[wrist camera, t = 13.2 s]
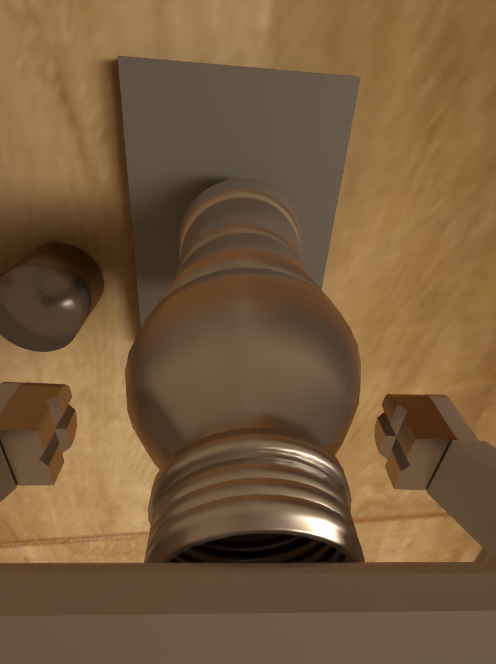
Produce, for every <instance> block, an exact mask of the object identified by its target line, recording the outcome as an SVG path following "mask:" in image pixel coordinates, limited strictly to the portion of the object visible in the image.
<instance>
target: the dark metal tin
mask: <svg viewBox="0 0 496 664" xmlns="http://www.w3.org/2000/svg"><path fill="white" fill-rule="evenodd" d="M103 290H104V280H103V276H102V273H101V271H100V269H99V267H98V265H97V264H96V262H95V261H94V260H93V259H92V258H91V257H90V256H89V255H88V254H87V253H85V252H84V251H82V250H81V249H79V248H77V247H75V246H72V245H69V244H65V243H48V244H45V245H42V246H40V247H38V248H37V249H35V250H34V251H33V252H31V253H30V254H29V255H27V256H26V257H25V258H23V259H22V260H21V261H19V262H18V263H17V264H16V265H14V266H13V267H12V268H10V269H9V270H8V271H6V272H5V273H4V274H2V275H1V276H0V334H1V335H2V336H3V337H4V338H5V339H7V340H8V341H10V342H11V343H13V344H15V345H17V346H19V347H22V348H24V349H28V350H32V351H39V352H48V351H54V350H58V349H61V348H63V347H65V346H66V345H68V344H69V343H70V342H71V341H72V340H73V339H74V337H75V336H76V334H77V333H78V331H79V330H80V328H81V327H82V325H83V324H84V322H85V321H86V319H87V318H88V316H89V315H90V313H91V312H92V310H93V309H94V307H95V306H96V304H97V303H98V301H99V300H100V298H101V296H102V294H103Z"/></svg>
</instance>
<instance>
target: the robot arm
mask: <svg viewBox="0 0 496 664" xmlns="http://www.w3.org/2000/svg"><path fill="white" fill-rule="evenodd" d="M71 398H72V394H71V390H70V387H69V386H68V385H66V384H47V383H28V382H25V383H20V382H3V383H1V384H0V502H1V501H2V500H3V499H4V498H5V497H6V496H8V495H9V494H10V493H11V492H12V491H13V490H14V489H16V485H54V484H55V482H56V479H57V477H58V475H59V473H60V470H61V468H62V466H63V464H64V458H63V454H62V453H63V452H65V451H66V450H68V449H69V448H70V447H71V446H72V443H73V441H74V438H75V434H76V429H77V416H76V411H75V409H74V408H72V407H71V406H70V405H69V402H70V400H71ZM382 407H383V409H384V411H385V412H384V413H383V414H381V415H380V416H379V417H377V421H376V424H375V442H376V446H377V448H378V451H379V453H380V454H381V455H383V456H384V457H385V458H386V459H387V462H386V465H385V468H386V471H387V473H388V476H389V478H390V481H391V483H392V486H393V488H394V489H408V490H427V493H428V494H429V495H430V496H431V497H432V498H433V499H434V500H435V501H436V502H437V503H438V504H439V505H440V506H441V507H442V508H443V509H444V510H445V511H446V512H447V513H448V514H449V515H450V516H451V517H452V518H453V519H454V520H455V521H456V522H457V523H458V524H460V525H461V526H462V527H463V528H464V529H465V530H466V531H467V532H468V533H469V534H470V535H471V536H472V537H473V538H474V539H475V540H476V541H477V542H478V543H479V544H480V545H481V546H482V547H483V548H484V549H485V550H486V551H487V552H488V553H489V554H490V555H489V556H488V558H487V559H486V560H485V562H288V563H0V664H496V448H495V447H493V446H492V445H490V444H489V443H487V442H485V441H479V440H478V439H477V437H476V436H475V435H474V433H473V432H472V430H471V429H470V427H469V426H468V425H467V423H466V422H465V420H464V419H463V417H462V416H461V415H460V413H459V412H458V410H457V409H456V408H455V406H454V405H453V403H452V402H451V400H450V399H449V398H448V397H447V396H445V395H437V394H425V395H414V394H387V395H386V397H385V398H384V400H383V403H382Z"/></svg>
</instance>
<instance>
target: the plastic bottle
mask: <svg viewBox="0 0 496 664" xmlns="http://www.w3.org/2000/svg"><path fill="white" fill-rule="evenodd" d="M300 252H301V228H300V223H299V218H298V216H297V213H296V211H295V209H294V207H293V205H292V204H291V203H290V201H289V200H288V199H287V197H286V196H285V195H283V194H282V193H281V192H280V191H279V190H278V189H276V188H274V187H273V186H271V185H269V184H267V183H265V182H262V181H258V180H255V179H251V178H234V179H228V180H225V181H222V182H219V183H216V184H214V185H213V186H211V187H209V188H208V189H206V190H204V191H203V192H202V193H201V194H200V195H198V196H197V197H196V198H195V199H194V200H193V202H192V203H191V204H190V206H189V207H188V208H187V210H186V212H185V214H184V216H183V219H182V221H181V225H180V229H179V257H180V266H179V270H178V272H177V275H176V277H175V279H174V281H173V283H172V285H171V286H170V287H169V289H168V290H167V292H166V293H165V294H164V296H163V297H162V298H161V300H160V301H159V302H158V304H157V305H156V306H155V308H154V309H153V310H152V312H151V313H150V314H149V316H148V317H147V318H146V320H145V322H144V324H143V326H142V328H141V330H140V331H139V333H138V335H137V337H136V339H135V341H134V343H133V345H132V347H131V349H130V351H129V355H128V359H127V364H126V369H125V380H126V397H127V411H128V414H129V418H130V421H131V424H132V427H133V429H134V431H135V432H136V434H137V436H138V437H139V439H140V441H141V443H142V444H143V446H144V448H145V449H146V451H147V453H148V454H149V456H150V458H151V459H152V461H153V462H154V464H155V465H156V466H157V467H158V469H159V472H158V473H157V475H156V477H155V480H154V483H153V486H152V491H151V496H150V501H149V507H148V513H149V522H150V525H151V527H150V532H149V538H148V543H147V549H146V555H145V560H144V563H288V562H365V561H364V556H363V552H362V549H361V545H360V542H359V539H358V536H357V532H356V529H355V526H354V523H353V519H352V516H351V513H350V509H351V500H352V499H351V495H350V491H349V486H348V483H347V480H346V477H345V474H344V470H343V468H342V466H341V465H340V463H339V461H338V460H337V458H336V457H335V455H336V453H337V452H338V450H339V448H340V447H341V445H342V444H343V441H344V439H345V437H346V435H347V432H348V430H349V428H350V425H351V423H352V421H353V418H354V415H355V412H356V410H357V407H358V404H359V395H360V381H361V361H360V355H359V349H358V345H357V342H356V340H355V338H354V336H353V333H352V331H351V329H350V327H349V326H348V324H347V323H346V321H345V320H344V318H343V316H342V315H341V313H340V312H339V310H338V309H337V308H336V307H335V305H334V304H333V303H332V301H331V300H330V299H329V298H328V297H327V296H326V295H325V293H324V292H323V291H322V290H321V289H320V288H319V286H318V285H317V284H316V283H315V282H314V281H313V279H312V278H311V277H310V276H309V274H308V272H307V270H306V268H305V266H304V265H303V263H302V261H301V255H300Z"/></svg>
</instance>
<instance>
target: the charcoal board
mask: <svg viewBox="0 0 496 664" xmlns="http://www.w3.org/2000/svg"><path fill="white" fill-rule="evenodd" d="M117 57H118V69H119V80H120V92H121V104H122V115H123V127H124V139H125V151H126V162H127V174H128V186H129V197H130V209H131V221H132V232H133V244H134V256H135V267H136V279H137V291H138V302H139V314H140V326H141V328H142V326H143V324H144V322H145V320H146V318H147V317H148V316H149V314H150V313H151V312H152V310H153V309H154V308H155V306H156V305H157V304H158V302H159V301H160V300H161V298H162V297H163V296H164V294H165V293H166V292H167V290H168V289H169V287H170V286H171V285H172V283H173V281H174V279H175V277H176V275H177V272H178V270H179V266H180V257H179V229H180V225H181V221H182V219H183V216H184V214H185V212H186V210H187V208H188V207H189V206H190V204H191V203H192V202H193V200H194V199H195V198H196V197H197V196H198V195H200V194H201V193H202V192H203V191H204V190H206V189H208V188H209V187H211V186H213V185H214V184H216V183H219V182H222V181H225V180H228V179H234V178H251V179H255V180H258V181H262V182H265V183H267V184H269V185H271V186H273V187H274V188H276V189H278V190H279V191H280V192H281V193H282V194H283V195H285V196H286V197H287V199H288V200H289V201H290V203H291V204H292V205H293V207H294V209H295V211H296V213H297V216H298V218H299V223H300V228H301V252H300V255H301V261H302V263H303V265H304V266H305V268H306V270H307V272H308V274H309V276H310V277H311V278H312V279H313V281H314V282H315V283H316V284H317V285H318V286H319V288H320V289H321V288H322V283H323V277H324V272H325V266H326V261H327V256H328V250H329V245H330V239H331V234H332V228H333V223H334V218H335V212H336V207H337V201H338V196H339V190H340V185H341V180H342V174H343V169H344V163H345V158H346V152H347V147H348V142H349V136H350V131H351V125H352V120H353V114H354V109H355V104H356V98H357V93H358V87H359V82H360V77H356V76H344V75H333V74H321V73H309V72H298V71H286V70H275V69H263V68H252V67H240V66H229V65H217V64H206V63H194V62H182V61H171V60H159V59H148V58H136V57H125V56H117Z"/></svg>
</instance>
